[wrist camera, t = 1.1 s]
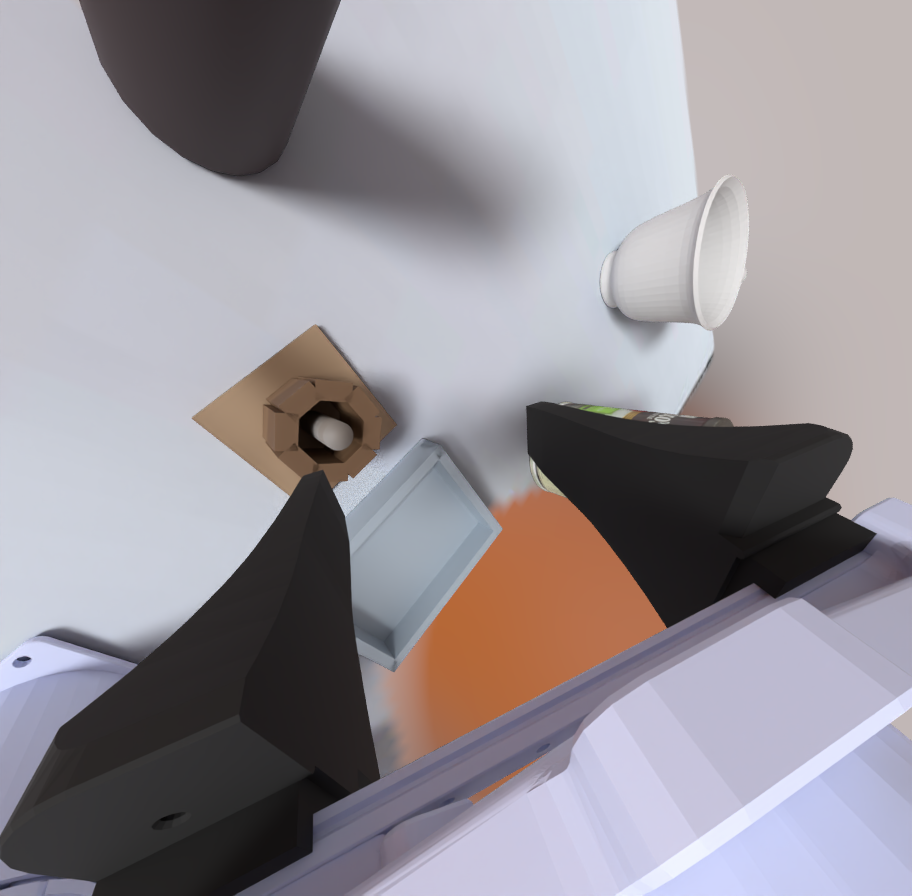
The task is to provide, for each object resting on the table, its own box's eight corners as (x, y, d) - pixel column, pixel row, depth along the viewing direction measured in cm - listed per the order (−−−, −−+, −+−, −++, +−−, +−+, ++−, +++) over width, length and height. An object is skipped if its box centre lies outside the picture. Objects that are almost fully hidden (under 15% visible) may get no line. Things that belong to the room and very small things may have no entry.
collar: (310, 480, 20) (329, 501, 17) (239, 420, 17) (247, 432, 14) (370, 424, 22) (397, 433, 19) (314, 359, 19) (336, 358, 16)
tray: (380, 650, 27) (394, 672, 25) (274, 591, 21) (282, 614, 19) (484, 518, 31) (502, 528, 29) (422, 438, 25) (440, 444, 23)
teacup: (642, 343, 43) (739, 338, 35) (576, 332, 34) (685, 323, 26) (657, 240, 40) (766, 210, 32) (590, 200, 31) (717, 145, 24)
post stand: (307, 508, 21) (333, 545, 17) (191, 417, 17) (187, 435, 12) (393, 423, 24) (435, 436, 19) (313, 325, 19) (345, 313, 15)
